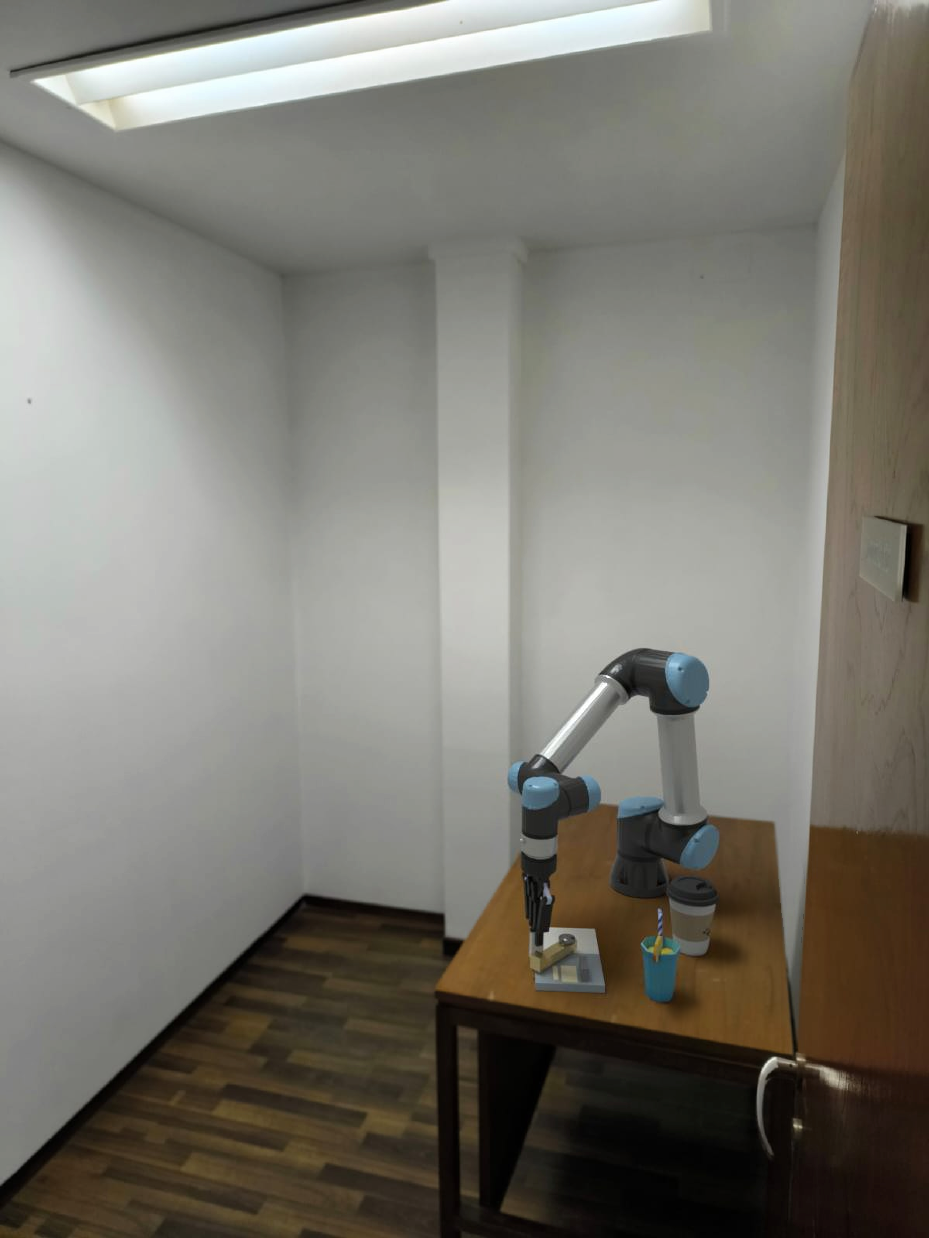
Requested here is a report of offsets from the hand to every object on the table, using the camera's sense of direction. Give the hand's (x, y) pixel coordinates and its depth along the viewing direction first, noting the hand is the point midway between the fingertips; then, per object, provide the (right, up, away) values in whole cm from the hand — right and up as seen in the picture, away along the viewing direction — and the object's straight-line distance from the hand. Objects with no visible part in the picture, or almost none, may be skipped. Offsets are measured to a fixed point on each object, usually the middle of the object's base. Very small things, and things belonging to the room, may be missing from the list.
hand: (536, 956), depth 173 cm
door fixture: (+7, -2, +4) cm, 8 cm away
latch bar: (+4, 0, 0) cm, 4 cm away
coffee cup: (+35, -2, +9) cm, 36 cm away
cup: (+24, -4, -8) cm, 26 cm away
